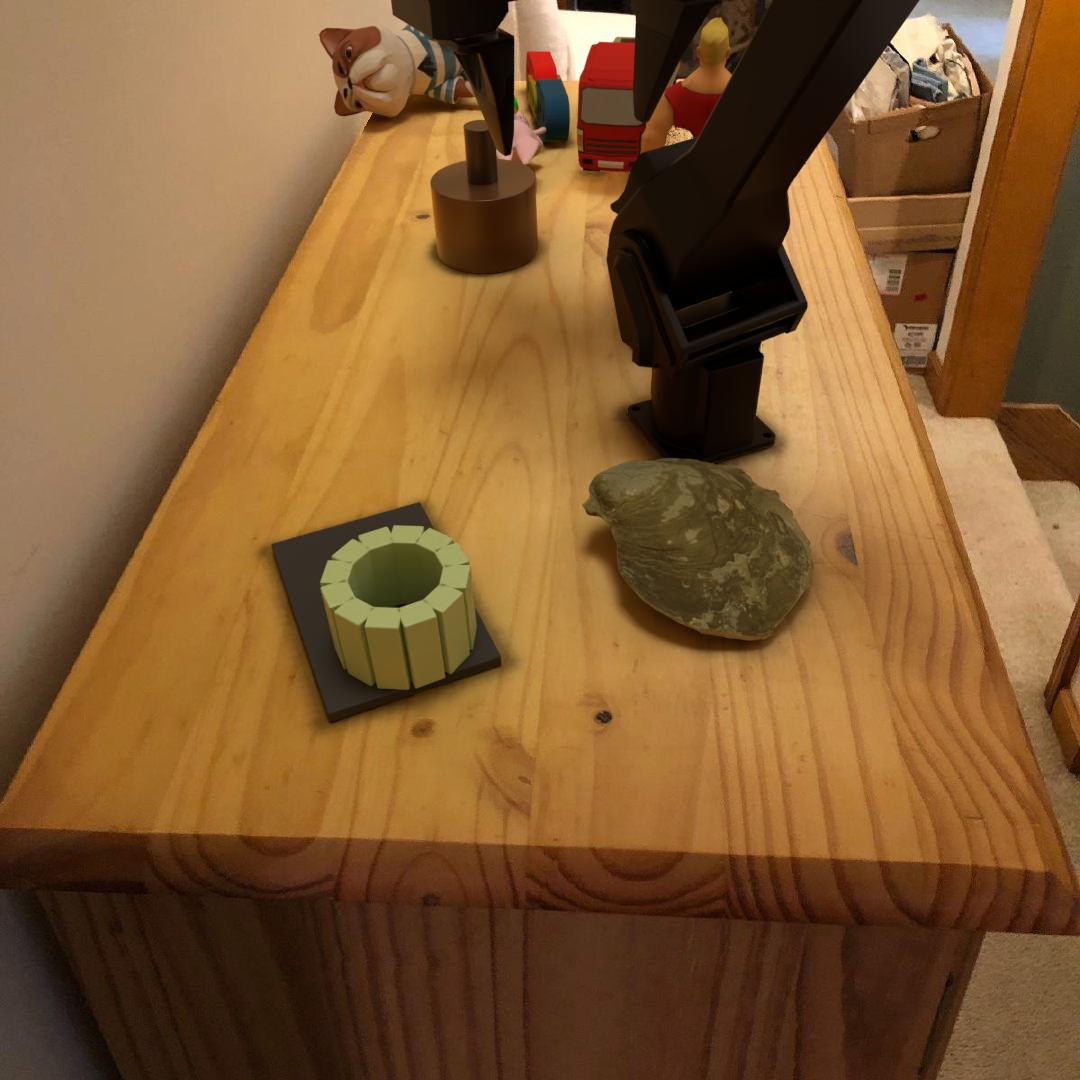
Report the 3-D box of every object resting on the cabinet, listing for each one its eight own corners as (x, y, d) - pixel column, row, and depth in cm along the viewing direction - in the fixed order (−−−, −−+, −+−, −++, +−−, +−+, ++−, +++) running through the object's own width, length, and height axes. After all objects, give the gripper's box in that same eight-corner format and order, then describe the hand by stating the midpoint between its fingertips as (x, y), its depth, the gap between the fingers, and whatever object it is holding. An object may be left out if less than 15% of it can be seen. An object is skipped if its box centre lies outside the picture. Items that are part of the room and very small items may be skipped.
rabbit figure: (476, 149, 95) (479, 188, 82) (471, 79, 91) (473, 109, 79) (543, 145, 95) (556, 184, 82) (541, 76, 92) (553, 105, 79)
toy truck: (571, 190, 84) (570, 62, 77) (614, 103, 99) (616, -10, 92) (653, 195, 83) (659, 66, 76) (685, 107, 98) (692, -8, 91)
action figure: (762, 221, 79) (787, 11, 69) (761, 242, 76) (788, 27, 66) (640, 216, 80) (648, 9, 70) (635, 236, 78) (643, 24, 68)
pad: (501, 665, 46) (501, 656, 46) (330, 722, 44) (328, 714, 44) (421, 509, 54) (419, 501, 54) (273, 552, 52) (270, 543, 52)
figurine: (471, 131, 93) (322, 131, 96) (524, 71, 106) (391, 73, 110) (458, 33, 87) (301, 37, 91) (516, -17, 101) (377, -12, 104)
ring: (497, 659, 46) (491, 596, 43) (361, 709, 44) (346, 647, 41) (445, 571, 50) (437, 509, 47) (319, 613, 48) (304, 551, 45)
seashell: (800, 643, 44) (664, 464, 42) (669, 700, 48) (540, 540, 46) (828, 532, 52) (715, 378, 51) (714, 589, 57) (606, 449, 55)
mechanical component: (522, 46, 101) (552, 46, 101) (521, 87, 103) (550, 86, 104) (541, 103, 88) (575, 102, 89) (540, 147, 91) (573, 147, 91)
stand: (553, 260, 75) (550, 133, 69) (457, 282, 73) (445, 153, 67) (515, 220, 81) (509, 99, 74) (424, 239, 79) (410, 116, 72)
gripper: (644, -224, 57) (635, 69, 67) (328, -192, 50) (372, 126, 61) (769, -206, 49) (737, 120, 60) (418, -166, 43) (451, 191, 54)
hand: (574, 136), depth 59 cm, fingers open, 9 cm apart
